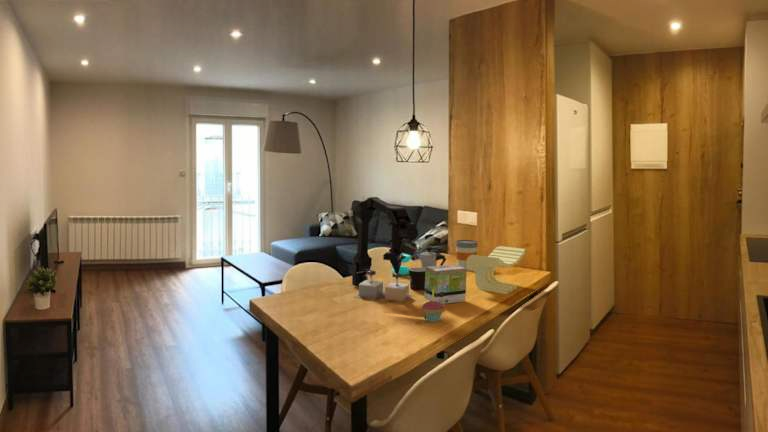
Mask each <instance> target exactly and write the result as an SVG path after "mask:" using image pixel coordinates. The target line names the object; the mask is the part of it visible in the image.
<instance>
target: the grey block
mask: <svg viewBox="0 0 768 432" xmlns="http://www.w3.org/2000/svg"><path fill="white" fill-rule="evenodd" d="M383 289H384V281H381V280H372V283H370V279H368V280H365V281H363V282H362V283H360V284H359V286H358V294H359V296H360V297H369V298H377V297H379V296H380V295H382V294H383V292H384V290H383Z"/></svg>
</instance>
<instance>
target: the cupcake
mask: <svg viewBox="0 0 768 432" xmlns="http://www.w3.org/2000/svg"><path fill="white" fill-rule="evenodd" d="M445 307H446V306H445V305H444V304H442V303H440V302H437V301H434V290H432V301H430V300H427V301H426V302H425V303H423V304H422V308H421V309H422V310H421V311H422V312H423V313H424V315H425V318H426V321H427V322H432V323H434V322H435V323H436V322H439V321H440V318H441V316H442V313H444V312H445V310H446V309H445Z"/></svg>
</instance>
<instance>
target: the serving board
mask: <svg viewBox="0 0 768 432" xmlns="http://www.w3.org/2000/svg"><path fill="white" fill-rule="evenodd" d="M412 297H414V295H412V294H409V297H407V298H406V299H405V300H404V301H396V300H387V299H385V291H383V294H382V295H380V296H379V297H377V298H369V297H360V296H359V293H358V294H357V295H355V296H354V297H353V298H355V299H363V300H370V301H371V300H372V301H381V302H390V303H399V304H405V303H406V302H408V301H409V300H410V299H411V298H412Z"/></svg>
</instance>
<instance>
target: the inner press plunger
mask: <svg viewBox="0 0 768 432" xmlns="http://www.w3.org/2000/svg"><path fill="white" fill-rule="evenodd" d="M376 273H377V271H376V270H373V269H370V270H368V271H367V276H369V280H370V283H372V281H373V276H374V275H376Z"/></svg>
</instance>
